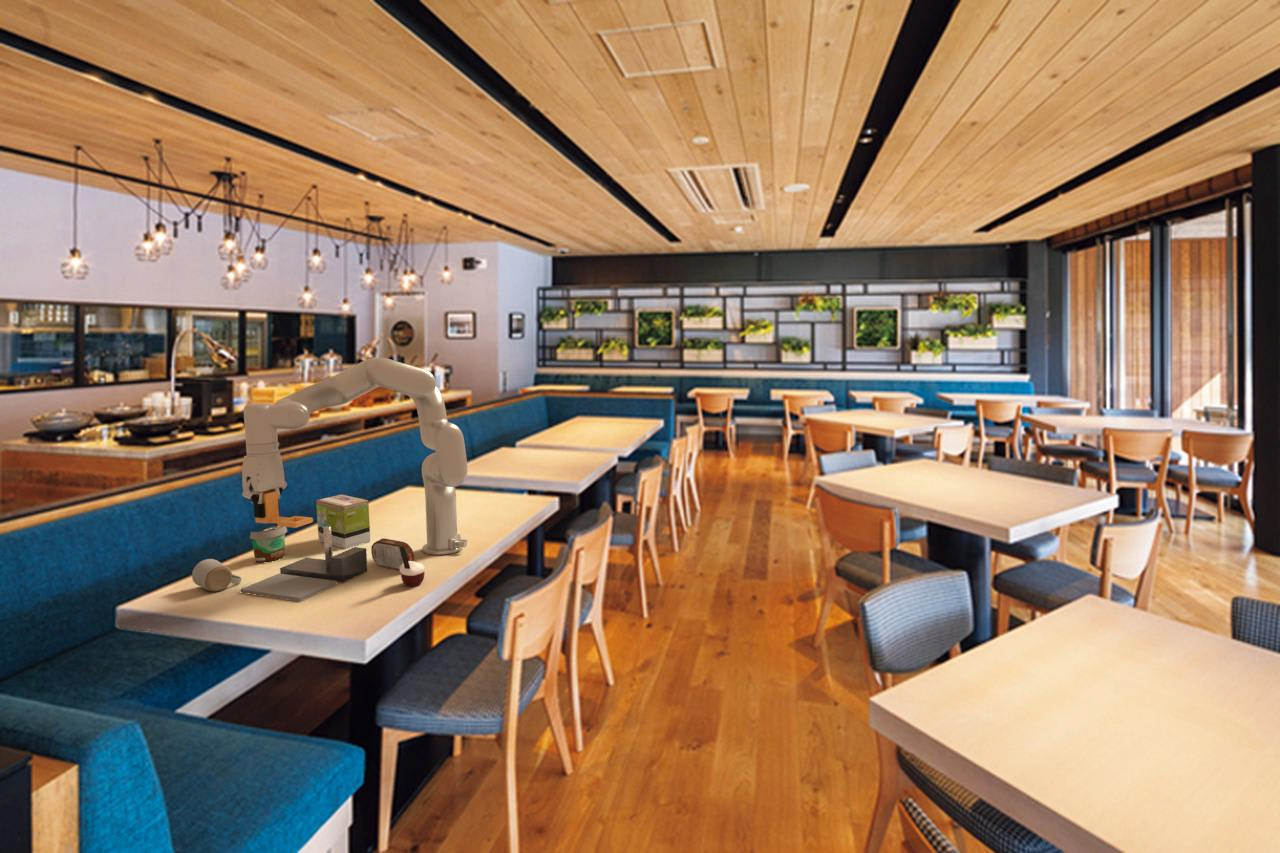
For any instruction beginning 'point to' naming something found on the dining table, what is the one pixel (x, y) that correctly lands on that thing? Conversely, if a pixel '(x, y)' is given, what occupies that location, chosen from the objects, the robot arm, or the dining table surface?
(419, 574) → the cocoa
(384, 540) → the tin
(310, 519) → the orange block with loop
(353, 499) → the tea box
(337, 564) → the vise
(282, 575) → the rubber mat
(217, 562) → the ceramic mug
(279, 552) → the food container
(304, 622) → the dining table surface
